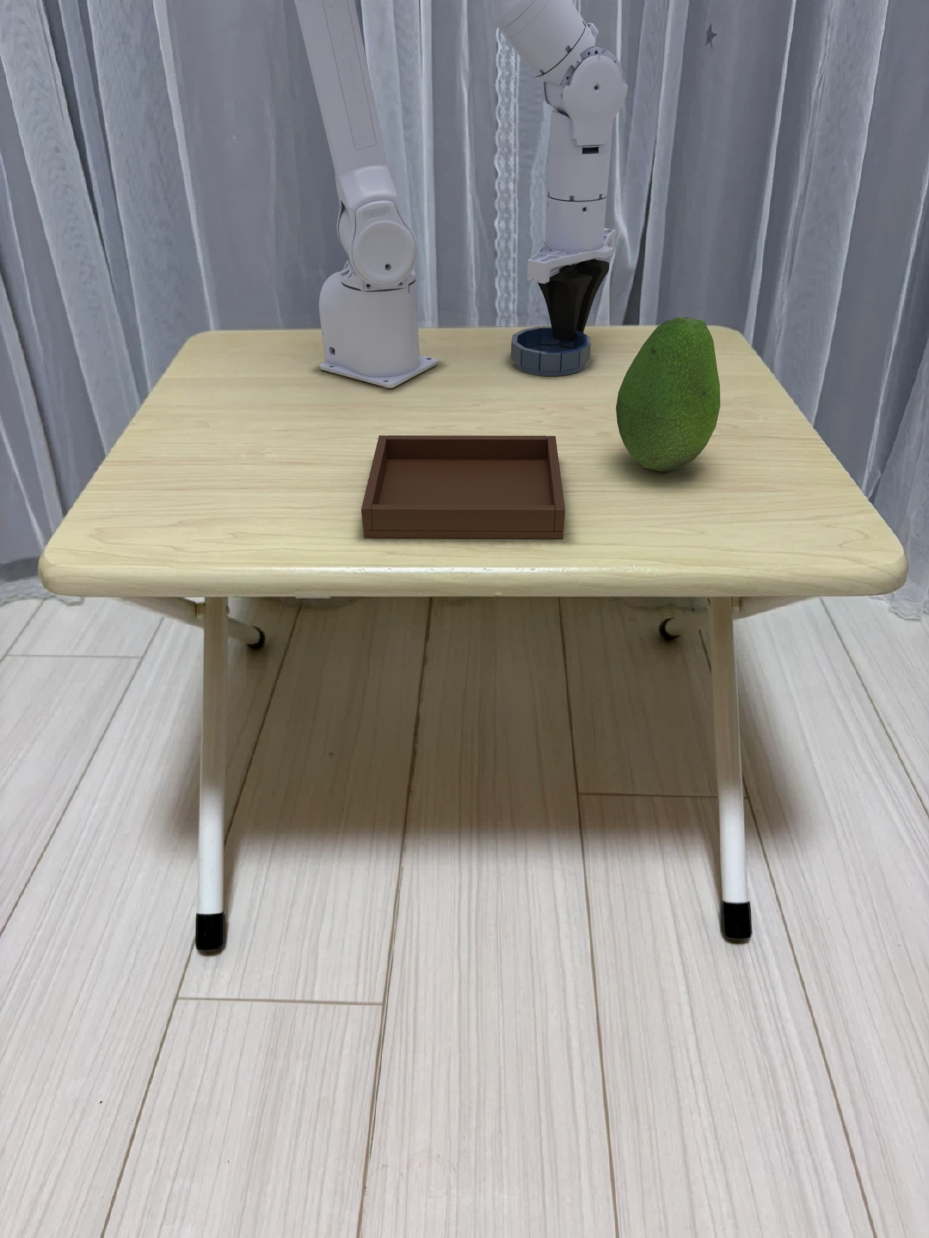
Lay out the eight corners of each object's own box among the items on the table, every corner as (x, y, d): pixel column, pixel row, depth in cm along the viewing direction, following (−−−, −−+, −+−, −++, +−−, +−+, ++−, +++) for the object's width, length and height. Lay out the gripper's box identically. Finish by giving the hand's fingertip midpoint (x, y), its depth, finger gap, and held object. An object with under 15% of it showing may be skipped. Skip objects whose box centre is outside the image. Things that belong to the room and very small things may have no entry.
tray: (363, 537, 62) (360, 508, 61) (380, 461, 72) (378, 435, 70) (563, 538, 62) (565, 509, 61) (554, 462, 71) (555, 435, 70)
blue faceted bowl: (496, 365, 88) (496, 343, 87) (536, 342, 94) (537, 321, 92) (564, 382, 85) (565, 359, 83) (602, 357, 90) (604, 335, 89)
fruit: (590, 467, 71) (603, 320, 63) (642, 434, 75) (659, 294, 68) (677, 498, 66) (701, 345, 59) (726, 462, 71) (754, 315, 64)
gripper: (577, 215, 76) (567, 365, 84) (648, 186, 85) (633, 323, 94) (509, 206, 79) (506, 351, 87) (584, 179, 89) (575, 312, 97)
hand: (568, 336), depth 91 cm, fingers closed
